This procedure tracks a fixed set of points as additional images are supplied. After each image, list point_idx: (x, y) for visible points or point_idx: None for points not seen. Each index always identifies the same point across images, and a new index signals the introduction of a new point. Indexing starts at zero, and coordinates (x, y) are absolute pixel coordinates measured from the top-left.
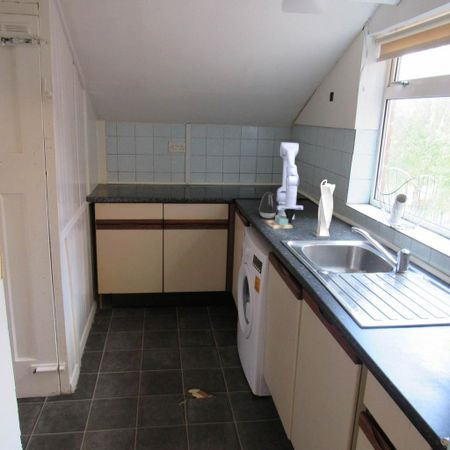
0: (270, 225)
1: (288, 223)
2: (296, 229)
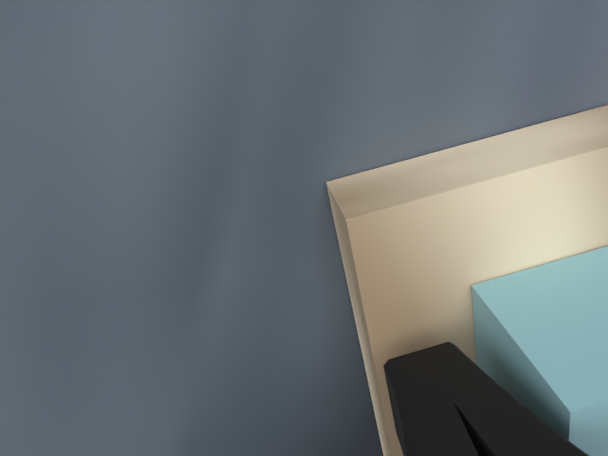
0: None
1: None
2: (233, 43)
